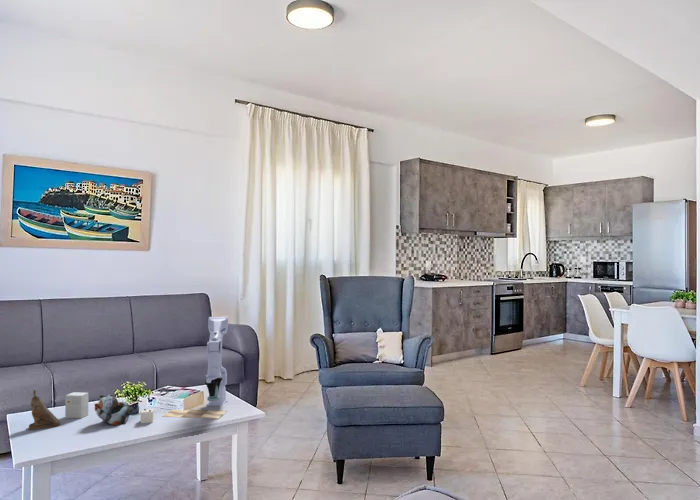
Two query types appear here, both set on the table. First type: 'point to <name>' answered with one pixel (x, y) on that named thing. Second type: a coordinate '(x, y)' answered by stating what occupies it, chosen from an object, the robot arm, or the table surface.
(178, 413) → the game board
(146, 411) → the cream block
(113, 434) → the table surface
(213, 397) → the pawn
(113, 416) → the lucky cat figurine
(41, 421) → the brown carved statuette
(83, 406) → the small box
